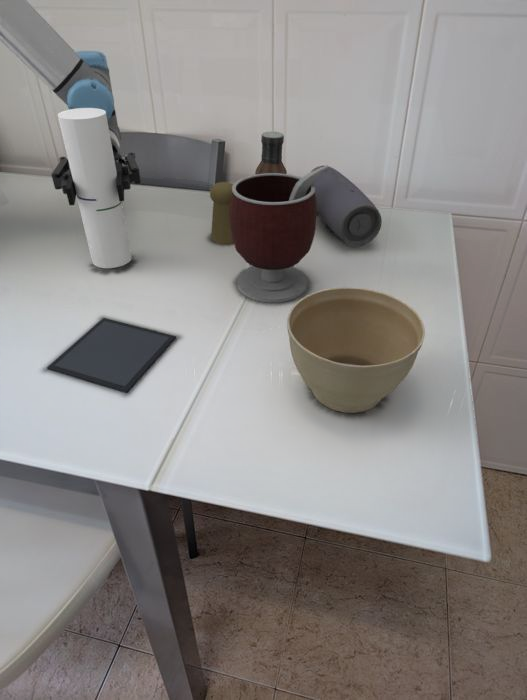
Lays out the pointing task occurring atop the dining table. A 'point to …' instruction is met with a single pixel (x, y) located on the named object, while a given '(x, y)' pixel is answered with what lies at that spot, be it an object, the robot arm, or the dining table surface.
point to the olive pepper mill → (221, 213)
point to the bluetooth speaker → (346, 208)
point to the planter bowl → (353, 345)
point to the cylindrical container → (96, 185)
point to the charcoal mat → (113, 354)
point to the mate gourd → (273, 232)
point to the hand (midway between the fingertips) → (95, 194)
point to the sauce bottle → (271, 154)
